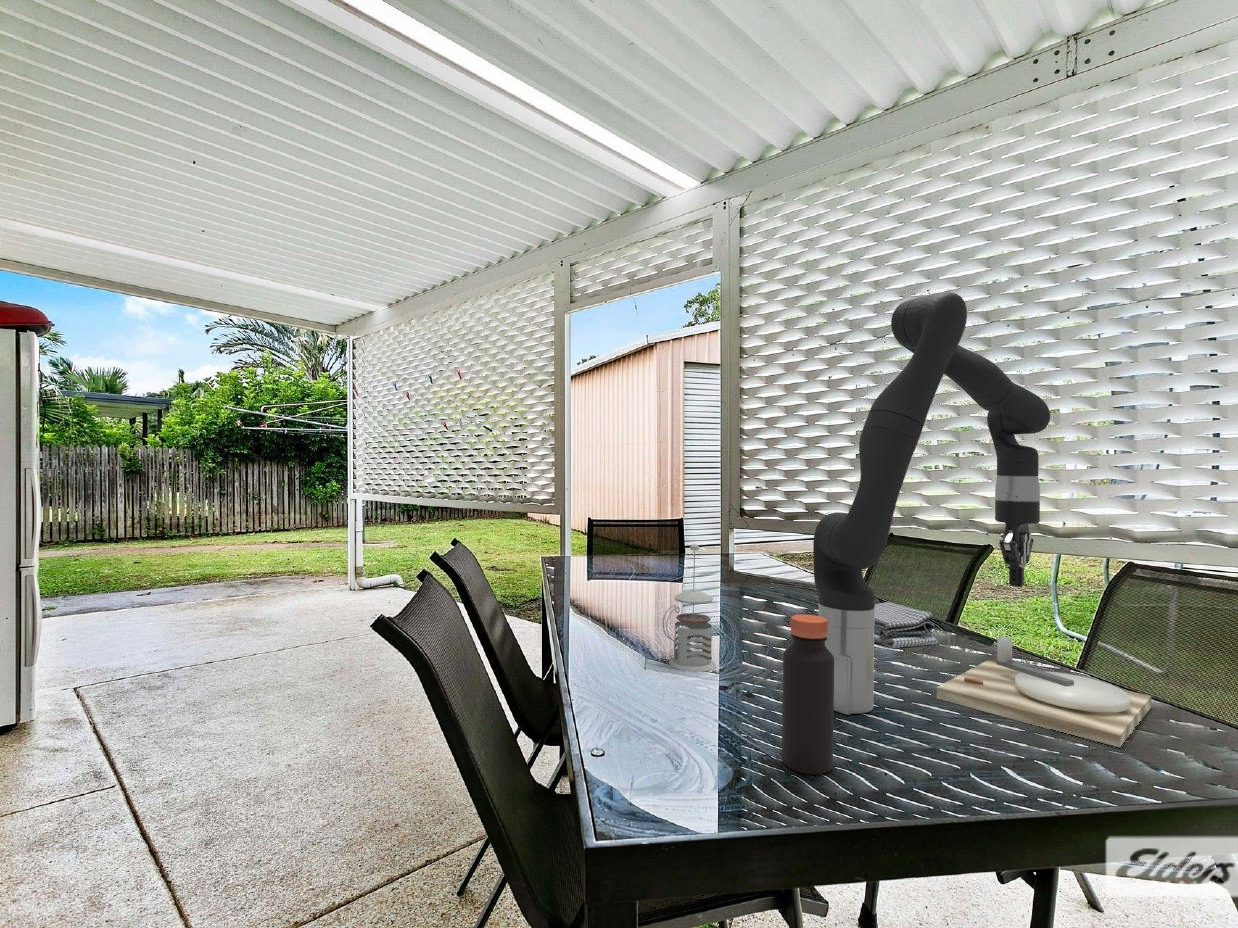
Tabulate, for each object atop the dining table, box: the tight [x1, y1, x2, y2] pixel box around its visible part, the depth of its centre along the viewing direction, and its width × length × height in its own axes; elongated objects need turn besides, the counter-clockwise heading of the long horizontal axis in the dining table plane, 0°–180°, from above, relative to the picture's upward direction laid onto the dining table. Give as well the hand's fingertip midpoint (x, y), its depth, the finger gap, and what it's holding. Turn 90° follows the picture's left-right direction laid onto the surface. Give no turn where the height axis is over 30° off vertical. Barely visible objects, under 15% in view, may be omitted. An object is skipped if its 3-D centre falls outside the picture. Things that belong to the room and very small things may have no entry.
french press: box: [662, 543, 717, 673], centre depth 128 cm, size 10×12×25 cm
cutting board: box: [936, 659, 1152, 748], centre depth 110 cm, size 26×26×3 cm
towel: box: [874, 601, 939, 649], centre depth 153 cm, size 15×18×8 cm
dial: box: [995, 635, 1130, 713], centre depth 108 cm, size 16×21×7 cm
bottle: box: [781, 614, 835, 776], centre depth 85 cm, size 7×7×20 cm
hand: (1016, 585), depth 122 cm, fingers closed
